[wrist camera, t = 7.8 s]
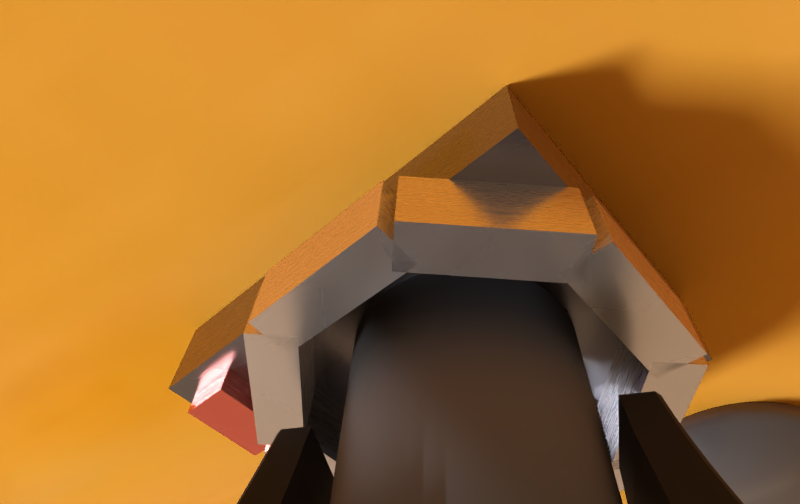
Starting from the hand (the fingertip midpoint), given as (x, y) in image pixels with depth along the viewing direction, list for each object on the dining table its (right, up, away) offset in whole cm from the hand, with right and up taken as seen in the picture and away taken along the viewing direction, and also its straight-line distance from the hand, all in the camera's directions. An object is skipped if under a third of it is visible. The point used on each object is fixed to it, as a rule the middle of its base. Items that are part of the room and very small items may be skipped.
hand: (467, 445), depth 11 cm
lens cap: (+9, -3, +7) cm, 12 cm away
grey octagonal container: (-1, +2, +4) cm, 5 cm away
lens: (0, +1, +2) cm, 2 cm away
